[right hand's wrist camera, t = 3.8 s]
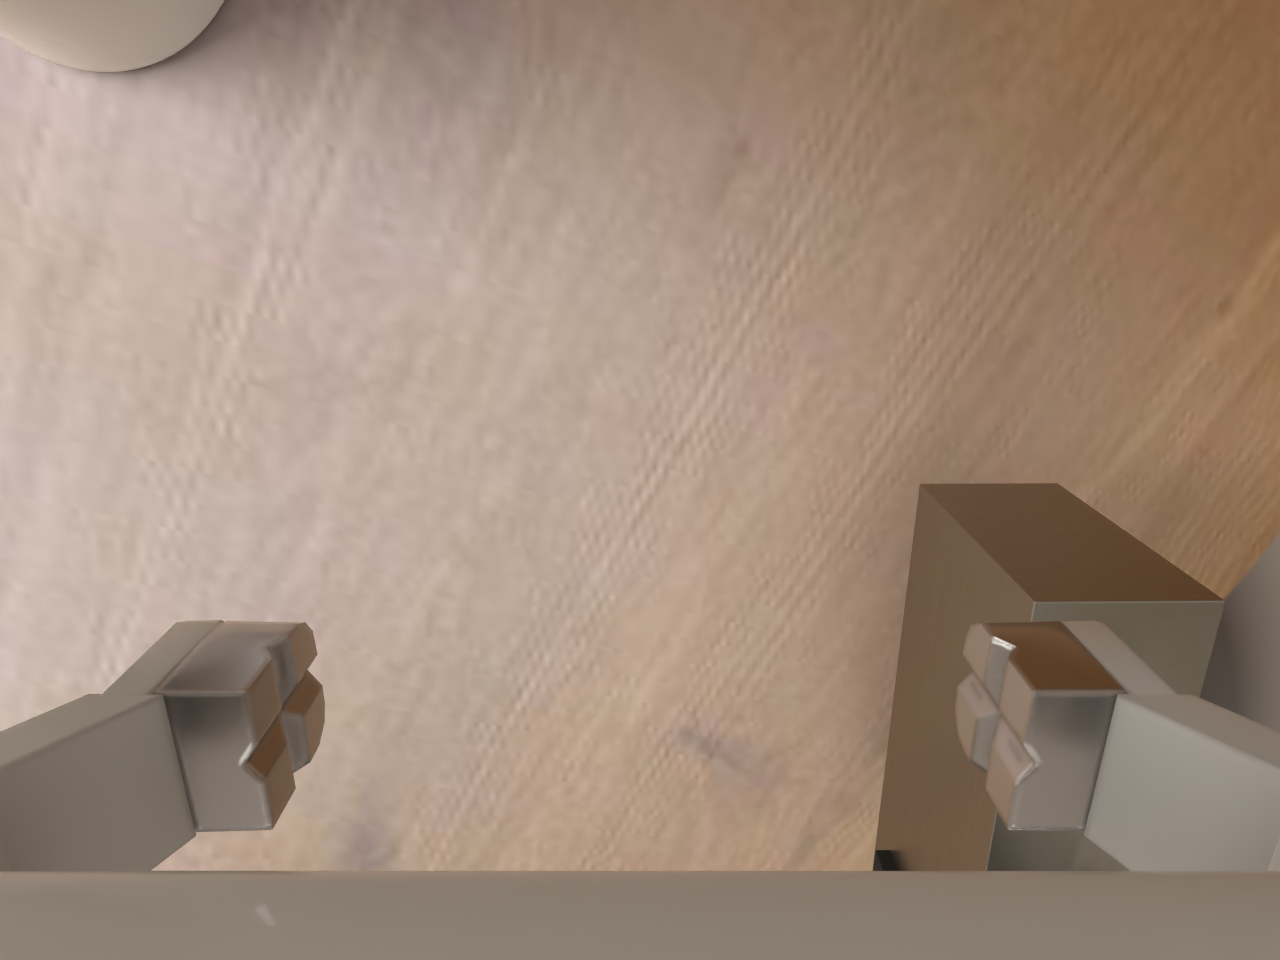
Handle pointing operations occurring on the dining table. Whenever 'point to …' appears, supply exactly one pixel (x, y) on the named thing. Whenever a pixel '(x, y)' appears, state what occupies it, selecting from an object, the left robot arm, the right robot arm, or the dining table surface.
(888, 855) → the left robot arm
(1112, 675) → the right robot arm
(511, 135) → the dining table surface
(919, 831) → the box
